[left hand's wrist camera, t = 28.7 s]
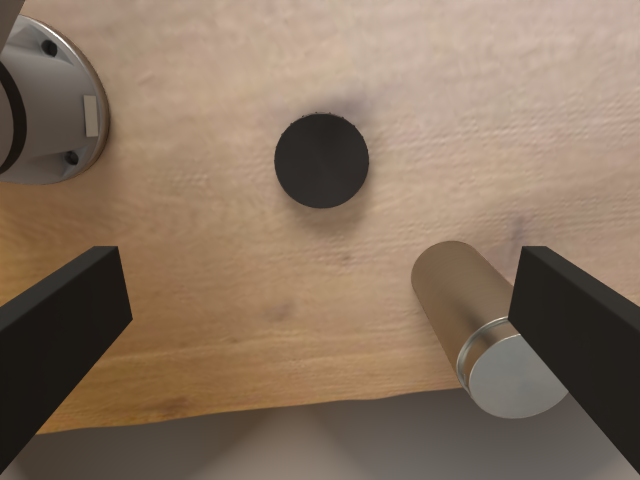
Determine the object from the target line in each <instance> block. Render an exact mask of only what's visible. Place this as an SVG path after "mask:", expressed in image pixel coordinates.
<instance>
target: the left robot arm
mask: <svg viewBox="0 0 640 480" xmlns="http://www.w3.org/2000/svg"><path fill="white" fill-rule="evenodd" d="M24 2H25V0H0V181H2V182H10V183H18V184H27V185H45V184H53V183H57V182H61V181H64V180H67V179H70V178H73V177H75V176H77V175H79V174H81V173H83V172H84V171H86V170H87V169H88V168H89V167H91V165H92V164H93V163H94V162H95V161H96V160H97V158H98V157H99V156H100V154H101V152H102V150H103V148H104V146H105V143H106V140H107V136H108V130H109V110H108V104H107V99H106V95H105V92H104V89H103V86H102V84H101V81H100V79H99V77H98V75H97V73H96V72H95V70H94V68H93V67H92V65H91V64H90V62H89V61H88V59H87V58H86V57H85V55H84V54H83V53H82V52H81V51H80V50H79V49H78V48H77V47H76V45H75V44H74V43H72V42H71V41H70V40H69V39H68V38H67V37H65V36H64V35H63V34H61V33H60V32H59V31H57V30H56V29H54V28H52V27H51V26H49V25H47V24H45V23H43V22H41V21H38V20H36V19H33V18H30V17H26V16H23V15H19V13H20V10H21V8H22V6H23V4H24ZM132 320H133V318H132V313H131V308H130V303H129V299H128V294H127V289H126V284H125V279H124V274H123V269H122V265H121V260H120V255H119V250H118V246H94V247H92V248H91V249H89V250H88V251H86V252H84V253H83V254H81V255H80V256H78V257H77V258H75V259H74V260H72V261H71V262H69V263H68V264H66V265H64V266H63V267H61V268H60V269H58V270H57V271H55V272H54V273H52V274H51V275H49V276H47V277H46V278H44V279H43V280H41V281H40V282H38V283H37V284H35V285H34V286H32V287H31V288H29V289H27V290H26V291H24V292H23V293H21V294H20V295H18V296H17V297H15V298H14V299H12V300H11V301H9V302H7V303H6V304H4V305H3V306H1V307H0V475H1V473H2V472H3V471H4V470H5V469H6V468H7V466H8V465H9V464H10V463H11V462H12V461H13V459H14V458H15V457H16V456H17V455H18V454H19V452H20V451H21V450H22V449H23V448H24V446H25V445H26V444H27V443H28V442H29V441H30V439H31V438H32V437H33V436H34V435H35V434H36V432H37V431H38V430H39V429H40V428H41V427H42V425H43V424H44V423H45V422H46V421H47V419H48V418H49V417H50V416H51V415H52V414H53V412H54V411H55V410H56V409H57V408H58V407H59V405H60V404H61V403H62V402H63V401H64V400H65V398H66V397H67V396H68V395H69V394H70V392H71V391H72V390H73V389H74V388H75V387H76V385H77V384H78V383H79V382H80V381H81V380H82V378H83V377H84V376H85V375H86V374H87V373H88V371H89V370H90V369H91V368H92V367H93V365H94V364H95V363H96V362H97V361H98V360H99V358H100V357H101V356H102V355H103V354H104V353H105V351H106V350H107V349H108V348H109V347H110V346H111V344H112V343H113V342H114V341H115V340H116V338H117V337H118V336H119V335H120V334H121V333H122V331H123V330H124V329H125V328H126V327H127V326H128V324H129V323H130V322H131V321H132ZM507 320H508V321H509V322H510V323H511V324H512V326H513V327H514V328H515V329H516V330H517V331H518V333H519V334H520V335H521V336H522V337H523V338H524V340H525V341H526V342H527V343H528V344H529V346H530V347H531V348H532V349H533V350H534V351H535V353H536V354H537V355H538V356H539V357H540V358H541V360H542V361H543V362H544V363H545V364H546V365H547V367H548V368H549V369H550V370H551V371H552V373H553V374H554V375H555V376H556V377H557V378H558V380H559V381H560V382H561V383H562V384H563V385H564V387H565V388H566V389H567V390H568V391H569V392H570V394H571V395H572V396H573V397H574V398H575V400H576V401H577V402H578V403H579V404H580V405H581V407H582V408H583V409H584V410H585V411H586V412H587V414H588V415H589V416H590V417H591V418H592V419H593V421H594V422H595V423H596V424H597V425H598V427H599V428H600V429H601V430H602V431H603V432H604V434H605V435H606V436H607V437H608V438H609V439H610V441H611V442H612V443H613V444H614V445H615V446H616V448H617V449H618V450H619V451H620V452H621V454H622V455H623V456H624V457H625V458H626V459H627V461H628V462H629V463H630V464H631V465H632V466H633V468H634V469H635V470H636V471H637V472H638V473H639V475H640V307H639V306H637V305H636V304H634V303H633V302H631V301H629V300H628V299H626V298H625V297H623V296H622V295H620V294H619V293H617V292H616V291H614V290H613V289H611V288H609V287H608V286H606V285H605V284H603V283H602V282H600V281H599V280H597V279H596V278H594V277H592V276H591V275H589V274H588V273H586V272H585V271H583V270H582V269H580V268H579V267H577V266H576V265H574V264H572V263H571V262H569V261H568V260H566V259H565V258H563V257H562V256H560V255H559V254H557V253H556V252H554V251H552V250H551V249H549V248H548V247H546V246H522V250H521V255H520V260H519V265H518V269H517V274H516V279H515V284H514V289H513V294H512V299H511V303H510V308H509V313H508V318H507Z"/></svg>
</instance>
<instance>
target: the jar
mask: <svg viewBox="0 0 640 480" xmlns="http://www.w3.org/2000/svg"><path fill="white" fill-rule="evenodd" d="M411 280H412V285H413V288H414V291H415V293H416V295H417V297H418V299H419V301H420V303H421V305H422V307H423V309H424V311H425V313H426V315H427V317H428V319H429V321H430V323H431V325H432V327H433V329H434V331H435V333H436V335H437V337H438V339H439V341H440V343H441V345H442V347H443V349H444V351H445V353H446V355H447V357H448V359H449V361H450V363H451V365H452V367H453V369H454V371H455V373H456V375H457V378H458V380H459V382H460V383H461V385H462V387H463V388H464V389H465V390H466V391H467V392H468V393H469V395H470V397H471V398H472V399H473V400H474V401H475V403H476V404H477V405H478V406H479V407H480V408H481V409H483V410H484V411H486V412H487V413H489V414H492V415H495V416H498V417H503V418H525V417H529V416H533V415H536V414H539V413H541V412H544V411H546V410H547V409H549V408H551V407H552V406H554V405H556V404H557V403H558V402H559V401H560V400H562V399H563V398H564V396H565V395H566V394H567V393H568V392H569V391H568V390H567V389H566V388H565V387H564V385H563V384H562V383H561V382H560V381H559V380H558V378H557V377H556V376H555V375H554V374H553V373H552V371H551V370H550V369H549V368H548V367H547V365H546V364H545V363H544V362H543V361H542V360H541V358H540V357H539V356H538V355H537V354H536V353H535V351H534V350H533V349H532V348H531V347H530V346H529V344H528V343H527V342H526V341H525V340H524V338H523V337H522V336H521V335H520V334H519V333H518V331H517V330H516V329H515V328H514V327H513V326H512V324H511V323H510V322H509V321H508V320H507V318H508V313H509V308H510V303H511V299H512V294H513V289H514V287H513V286H512V285H511V284H510V283H509V282H508V281H507V280H506V279H505V278H504V277H503V276H502V275H501V274H500V273H499V272H498V271H497V270H496V269H495V268H494V267H493V266H492V265H491V264H490V263H489V262H488V261H487V260H486V259H485V258H483V257H482V256H481V255H480V254H479V253H478V252H477V251H476V250H475V249H474V248H473V247H471V246H469V245H468V244H465V243H462V242H457V241H447V242H442V243H438V244H436V245H434V246H432V247H430V248H428V249H427V250H426V251H424V252H423V253H422V254H421V255H420V256H419V258H418V259H417V261H416V262H415V264H414V267H413V270H412V276H411Z"/></svg>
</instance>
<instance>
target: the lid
mask: <svg viewBox="0 0 640 480" xmlns="http://www.w3.org/2000/svg"><path fill="white" fill-rule="evenodd" d="M281 135H282V136H281V138H280V140H279V142H278V144H277V146H276V151H275V160H274V163H275V171H276V175H277V178H278V180H279V182H280V184H281V186H282V187H283V189H284V190H285V191H286V193H287V194H288V195H289V196H290V197H292V198H293V199H294V200H296V201H297V202H299V203H301V204H303V205H305V206H308V207H313V208H331V207H335V206H338V205H340V204H342V203H344V202H346V201H348V200H349V199H350V198H352V197H353V196H354V195H355V194H356V193H357V192H358V190H359V189H360V188H361V186H362V184H363V183H364V180H365V178H366V175H367V171H368V165H369V156H368V149H367V146H366V144H365V141H364V139H363V136H362V135H361V134H360V133H359V131H358V130H357V129H356V128H355V126H354V125H352V124H351V123H350V122H348V121H347V120H345V119H344V117H340V116H337V115H335V114H331V113H330V112H329V113H317V112H316V113H313V114H309V115H306V116H304V115H303V116H302V117H301V118H299V119H298V120H296V121H295V122H294V123H291V124H290V126H289V127H288V128H287V129H286V130H285V132H284V133H282V134H281Z"/></svg>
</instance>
